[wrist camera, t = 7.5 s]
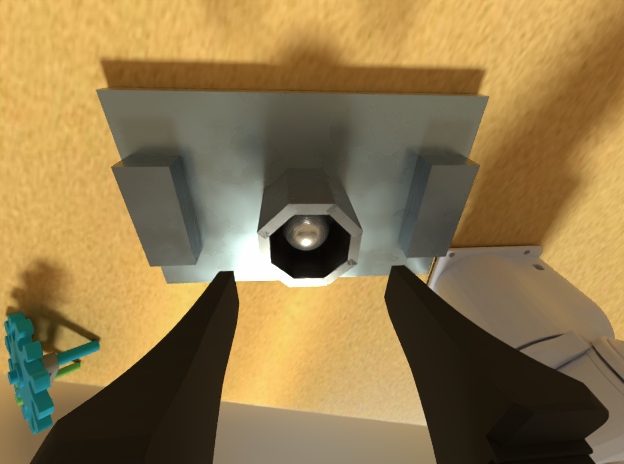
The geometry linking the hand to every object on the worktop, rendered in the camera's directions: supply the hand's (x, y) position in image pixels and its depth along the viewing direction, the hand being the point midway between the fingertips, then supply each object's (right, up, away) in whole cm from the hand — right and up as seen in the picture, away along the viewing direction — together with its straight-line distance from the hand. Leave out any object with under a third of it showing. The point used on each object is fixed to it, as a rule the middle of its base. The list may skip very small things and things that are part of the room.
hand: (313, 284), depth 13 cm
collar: (-1, +4, +7) cm, 8 cm away
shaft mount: (-1, +5, +8) cm, 9 cm away
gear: (-25, -7, +14) cm, 29 cm away
